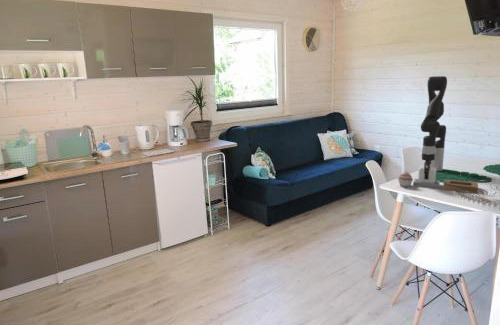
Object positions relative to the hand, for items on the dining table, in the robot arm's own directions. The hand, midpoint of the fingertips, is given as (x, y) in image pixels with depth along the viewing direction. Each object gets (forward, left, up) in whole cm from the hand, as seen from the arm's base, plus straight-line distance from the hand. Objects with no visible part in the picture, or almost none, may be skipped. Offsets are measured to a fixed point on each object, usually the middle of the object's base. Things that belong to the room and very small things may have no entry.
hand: (426, 178), depth 231 cm
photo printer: (0, 0, -5) cm, 5 cm away
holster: (0, 0, -5) cm, 5 cm away
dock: (0, +19, -5) cm, 20 cm away
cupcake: (+6, -12, -5) cm, 14 cm away
